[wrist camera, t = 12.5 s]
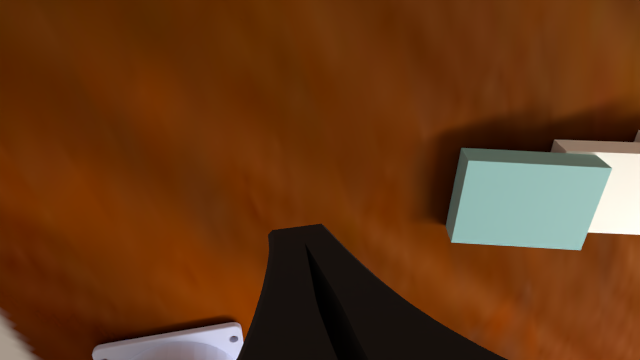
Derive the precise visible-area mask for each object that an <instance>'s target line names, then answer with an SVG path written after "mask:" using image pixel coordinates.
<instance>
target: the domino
mask: <svg viewBox="0 0 640 360" xmlns="http://www.w3.org/2000/svg"><path fill="white" fill-rule="evenodd" d="M551 152H552V153H571V154H591V155H597V156H598V157H599V158H601V159H602V160H603V161H604V162H605V163H607V164H608V165H609V166H610V167H611V168H612V170H611V173H610V176H609V178H608V181H607V183H606V186H605V188H604V191H603V194H602V196H601V199H600V201H599V204H598V206H597V209H596V212H595V214H594V217H593V219H592V222H591V225H590V227H589V230H588V232H596V233H617V234H638V235H640V143H639V142H611V141H582V140H554V142H553V146H552V149H551Z"/></svg>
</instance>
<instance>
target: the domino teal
mask: <svg viewBox="0 0 640 360" xmlns="http://www.w3.org/2000/svg"><path fill="white" fill-rule="evenodd" d="M611 170H612V168H611V167H610V166H609V165H608V164H607V163H605V162H604V161H603V160H602V159H601V158H599V157H598V156H597V155H591V154H571V153H552V152H533V151H514V150H494V149H475V148H461V152H460V157H459V162H458V167H457V172H456V177H455V182H454V187H453V192H452V197H451V202H450V207H449V212H448V217H447V222H446V229H447V231H448V234H449V237H450V240H451V242H455V243H471V244H488V245H504V246H521V247H537V248H554V249H570V250H581V248H582V245H583V243H584V240H585V237H586V235H587V232H588V230H589V227H590V225H591V222H592V219H593V217H594V214H595V212H596V209H597V206H598V204H599V201H600V199H601V196H602V194H603V191H604V188H605V186H606V183H607V181H608V178H609V176H610V173H611Z"/></svg>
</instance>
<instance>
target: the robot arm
mask: <svg viewBox="0 0 640 360" xmlns="http://www.w3.org/2000/svg"><path fill="white" fill-rule="evenodd" d="M268 239H269V257H268V264H267V269H266V274H265V279H264V283H263V288H262V291H261V295H260V298H259V301H258V304H257V308H256V311H255V314H254V317H253V320H252V323H251V325H250V328H249V331H248V333H247V336H246V339H245V341H244V343H243V336H242V329H241V325H240V324H239V323H236V322H230V323H224V324H218V325H212V326H206V327H201V328H195V329H189V330H183V331H177V332H171V333H165V334H159V335H153V336H147V337H141V338H136V339H130V340H124V341H118V342H112V343H106V344H101V345H97V346H96V347H95V348H94V350H93V353H92V357H93V360H104V359H107V360H507V359H505V358H503V357H501V356H499V355H497V354H495V353H493V352H491V351H489V350H487V349H485V348H483V347H481V346H479V345H477V344H476V343H474V342H472V341H470V340H468V339H467V338H465V337H463V336H461V335H459V334H458V333H456V332H454V331H452V330H451V329H449V328H447V327H446V326H444V325H442V324H441V323H439V322H437V321H436V320H434V319H433V318H431V317H430V316H428V315H427V314H425V313H424V312H422V311H421V310H419V309H418V308H416V307H415V306H413V305H412V304H410V303H409V302H408V301H406V300H405V299H404V298H402V297H401V296H400V295H398V294H397V293H396V292H395V291H393V290H392V289H391V288H390V287H388V286H387V285H386V284H385V283H383V282H382V281H381V280H380V279H379V278H377V277H376V276H375V275H374V274H373V273H372V272H371V271H370V270H368V269H367V268H366V267H365V266H364V265H363V264H362V263H361V262H360V261H358V260H357V259H356V258H355V257H354V256H353V255H352V254H351V253H350V252H349V251H348V250H347V249H346V248H345V247H344V246H343V245H342V244H341V243H340V242H339V241H338V240H337V239H336V238H335V237H334V236H333V235H332V234H331V232H330V231H329V230H328V229H327V228H326V227H325V226H323V225H322V224H316V225H308V226H301V227H293V228H286V229H278V230H272V231H271V232H270V233H269V234H268ZM232 336H236V337H232Z"/></svg>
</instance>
